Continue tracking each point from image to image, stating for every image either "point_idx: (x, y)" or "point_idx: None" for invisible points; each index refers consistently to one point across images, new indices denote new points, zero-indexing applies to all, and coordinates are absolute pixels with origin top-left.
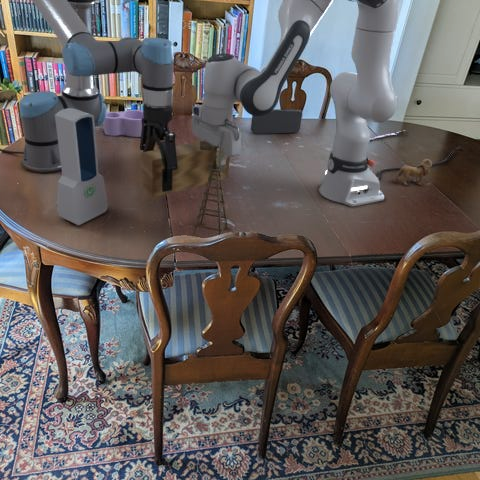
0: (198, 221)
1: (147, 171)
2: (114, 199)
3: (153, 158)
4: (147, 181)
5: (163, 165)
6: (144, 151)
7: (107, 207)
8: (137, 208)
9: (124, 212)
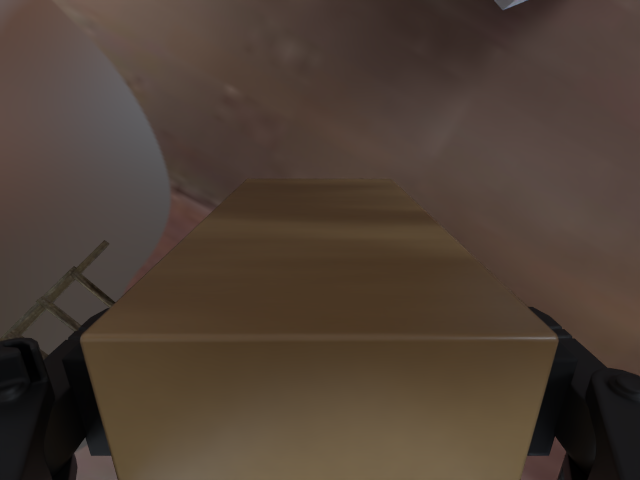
0: (52, 292)
1: (301, 228)
2: (569, 103)
3: (171, 400)
4: (311, 199)
5: (34, 412)
6: (633, 411)
7: (500, 5)
8: (429, 160)
9: (431, 87)
